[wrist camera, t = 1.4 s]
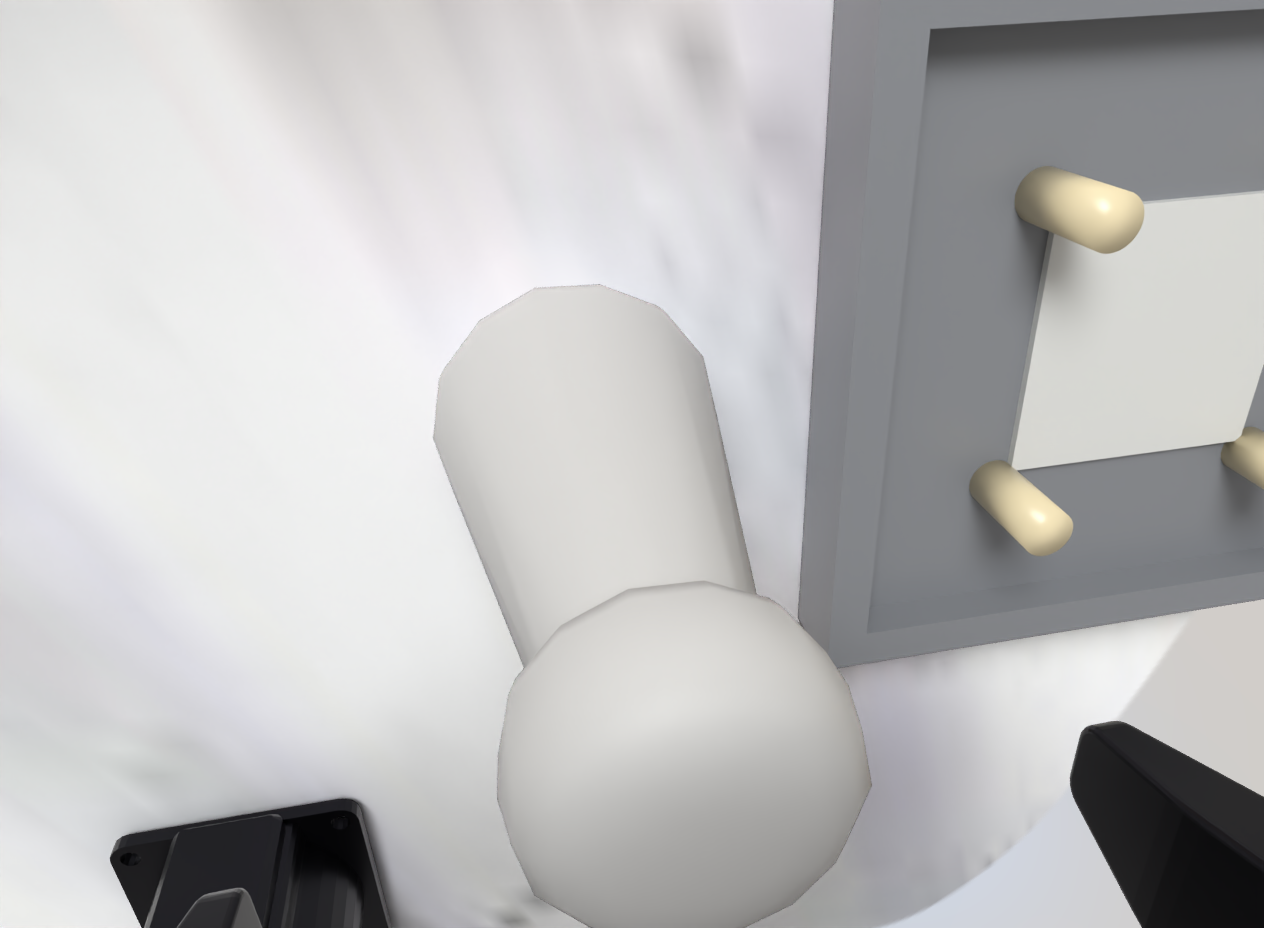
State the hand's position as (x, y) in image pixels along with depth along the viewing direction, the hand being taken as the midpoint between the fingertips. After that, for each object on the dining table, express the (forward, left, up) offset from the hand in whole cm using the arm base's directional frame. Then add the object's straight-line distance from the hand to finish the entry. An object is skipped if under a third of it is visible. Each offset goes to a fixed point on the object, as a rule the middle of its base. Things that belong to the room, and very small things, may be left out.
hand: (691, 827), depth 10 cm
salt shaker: (0, 0, -13) cm, 13 cm away
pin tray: (0, -14, -13) cm, 19 cm away
